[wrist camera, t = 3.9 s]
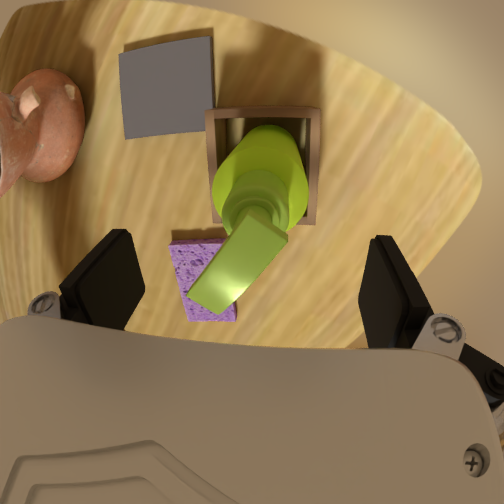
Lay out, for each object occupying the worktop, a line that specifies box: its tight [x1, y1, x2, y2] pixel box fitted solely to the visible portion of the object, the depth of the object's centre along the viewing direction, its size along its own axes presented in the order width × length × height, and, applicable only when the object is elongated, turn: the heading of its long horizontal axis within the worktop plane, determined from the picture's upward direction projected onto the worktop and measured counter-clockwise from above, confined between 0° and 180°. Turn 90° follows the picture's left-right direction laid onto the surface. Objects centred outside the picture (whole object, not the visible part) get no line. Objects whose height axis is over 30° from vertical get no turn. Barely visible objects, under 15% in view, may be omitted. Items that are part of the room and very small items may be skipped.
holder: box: [204, 106, 320, 225], centre depth 27 cm, size 11×10×5 cm
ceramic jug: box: [0, 69, 85, 198], centre depth 22 cm, size 18×14×14 cm
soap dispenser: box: [186, 125, 309, 315], centre depth 20 cm, size 6×7×20 cm
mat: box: [119, 36, 215, 140], centre depth 25 cm, size 10×10×1 cm
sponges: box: [168, 238, 237, 322], centre depth 37 cm, size 7×13×2 cm, turn 5°
